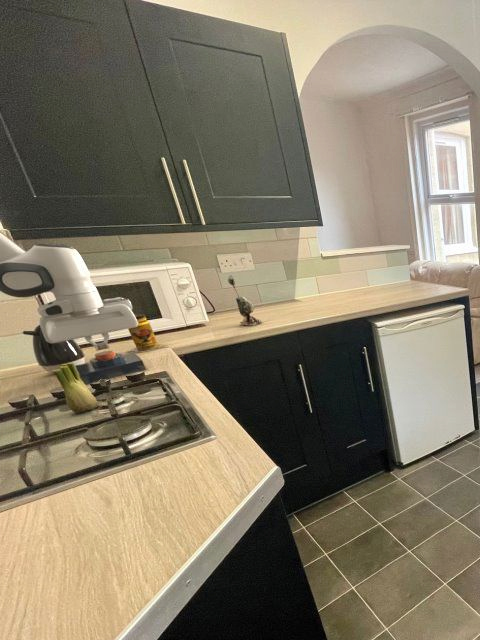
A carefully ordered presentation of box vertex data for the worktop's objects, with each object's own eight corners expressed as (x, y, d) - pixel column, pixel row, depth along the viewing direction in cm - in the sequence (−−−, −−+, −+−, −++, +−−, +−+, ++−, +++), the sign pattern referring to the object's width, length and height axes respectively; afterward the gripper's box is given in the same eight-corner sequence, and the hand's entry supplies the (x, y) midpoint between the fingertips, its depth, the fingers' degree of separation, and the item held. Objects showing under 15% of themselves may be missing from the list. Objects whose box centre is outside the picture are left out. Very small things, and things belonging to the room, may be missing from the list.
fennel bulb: (80, 416, 100) (55, 370, 95) (64, 415, 101) (39, 369, 96) (106, 405, 105) (84, 360, 100) (90, 404, 106) (68, 360, 101)
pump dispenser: (35, 376, 127) (8, 328, 121) (75, 364, 136) (52, 318, 130) (59, 378, 124) (33, 329, 118) (98, 365, 134) (76, 319, 127)
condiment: (147, 351, 145) (133, 318, 140) (126, 351, 146) (111, 318, 141) (166, 345, 151) (153, 312, 146) (146, 344, 153) (132, 312, 148)
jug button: (98, 362, 122) (95, 356, 122) (95, 359, 125) (93, 353, 124) (117, 357, 125) (115, 352, 125) (115, 354, 128) (112, 349, 127)
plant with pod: (239, 329, 167) (222, 278, 159) (240, 322, 176) (224, 274, 168) (262, 325, 171) (247, 275, 163) (261, 319, 180) (247, 272, 172)
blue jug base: (84, 385, 119) (76, 368, 117) (79, 375, 126) (71, 360, 124) (146, 369, 128) (139, 354, 126) (138, 361, 135) (131, 347, 133)
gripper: (125, 294, 127) (144, 338, 133) (29, 309, 113) (54, 356, 119) (129, 297, 123) (148, 341, 129) (30, 312, 110) (56, 361, 115)
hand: (102, 349), depth 124 cm, fingers closed
